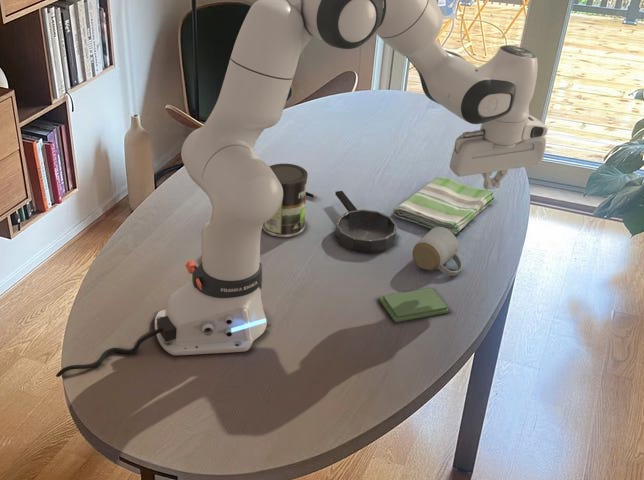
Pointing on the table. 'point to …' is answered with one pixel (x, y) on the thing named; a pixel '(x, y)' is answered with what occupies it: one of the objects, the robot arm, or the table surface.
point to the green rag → (413, 305)
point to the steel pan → (364, 229)
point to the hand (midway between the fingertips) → (491, 187)
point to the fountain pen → (310, 195)
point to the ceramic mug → (437, 251)
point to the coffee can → (289, 201)
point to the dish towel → (444, 205)
